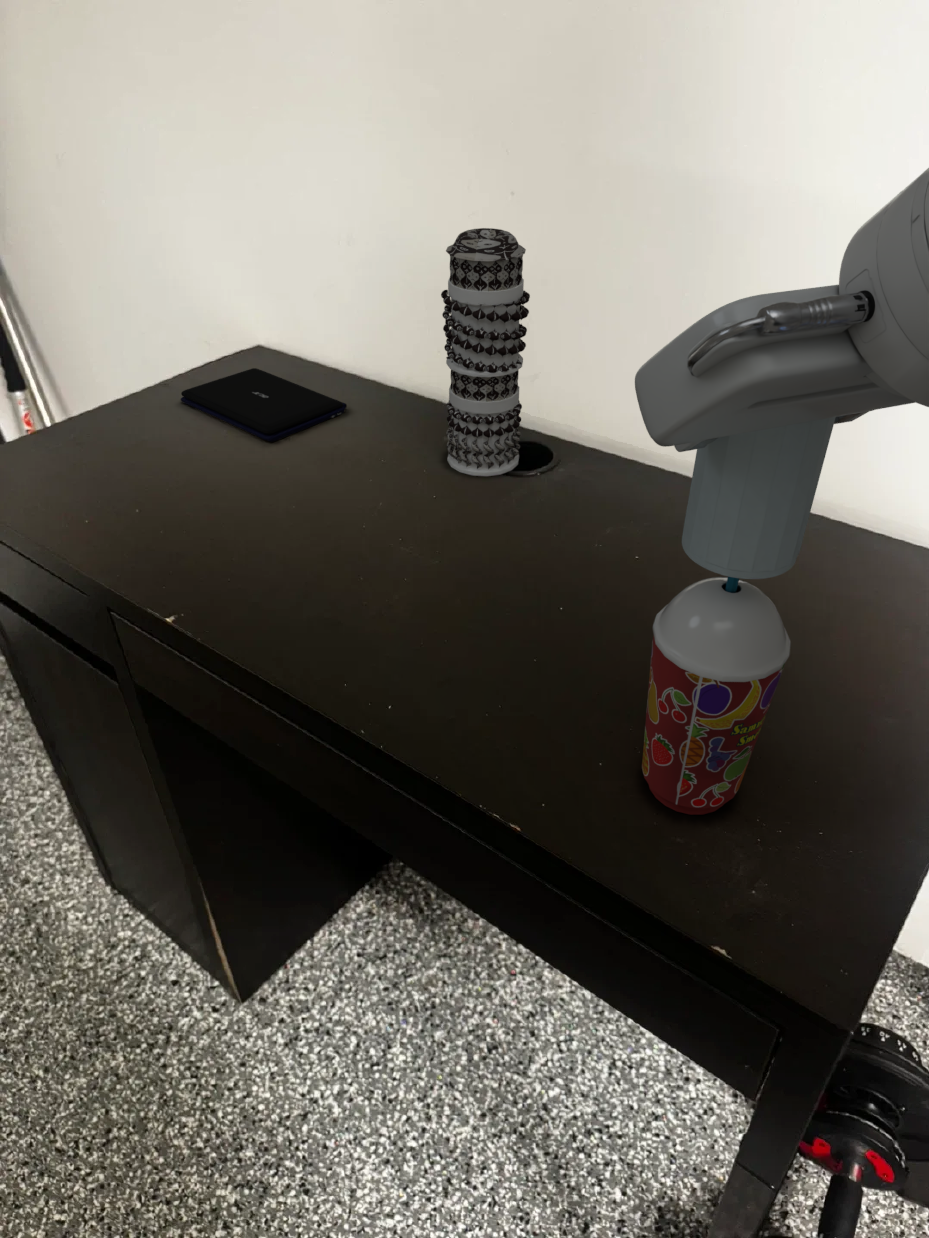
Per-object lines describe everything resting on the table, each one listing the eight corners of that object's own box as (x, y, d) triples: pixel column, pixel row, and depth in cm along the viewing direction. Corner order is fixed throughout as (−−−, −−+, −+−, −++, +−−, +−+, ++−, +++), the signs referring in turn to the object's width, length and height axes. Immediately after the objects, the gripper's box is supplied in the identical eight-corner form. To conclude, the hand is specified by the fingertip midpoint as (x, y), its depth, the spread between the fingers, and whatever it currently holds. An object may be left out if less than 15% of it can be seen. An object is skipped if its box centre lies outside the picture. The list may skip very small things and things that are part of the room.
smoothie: (742, 844, 60) (813, 601, 48) (618, 813, 62) (656, 573, 50) (752, 759, 66) (816, 525, 54) (639, 733, 68) (677, 503, 56)
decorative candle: (511, 483, 100) (519, 249, 85) (433, 471, 102) (428, 241, 87) (531, 448, 107) (542, 227, 92) (458, 438, 109) (457, 220, 94)
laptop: (278, 371, 127) (277, 357, 125) (358, 416, 114) (357, 401, 113) (174, 399, 118) (171, 385, 117) (247, 451, 106) (245, 436, 105)
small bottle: (821, 559, 51) (891, 312, 43) (737, 592, 48) (795, 335, 40) (739, 510, 55) (788, 278, 47) (658, 537, 53) (695, 297, 44)
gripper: (761, 401, 31) (603, 513, 44) (1172, 333, 37) (925, 449, 50) (711, 236, 32) (569, 394, 45) (1123, 195, 38) (891, 345, 51)
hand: (759, 423), depth 48 cm, fingers open, 8 cm apart
